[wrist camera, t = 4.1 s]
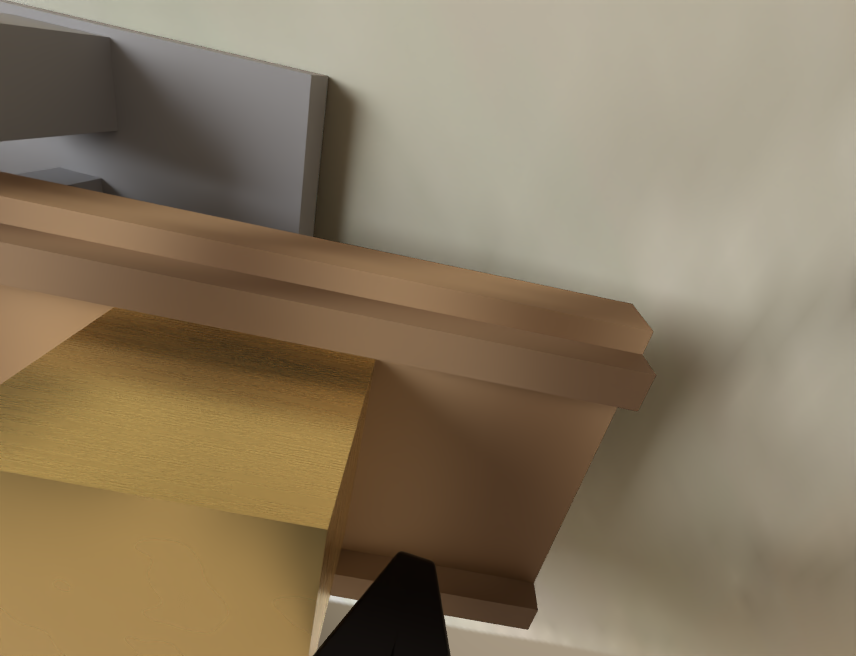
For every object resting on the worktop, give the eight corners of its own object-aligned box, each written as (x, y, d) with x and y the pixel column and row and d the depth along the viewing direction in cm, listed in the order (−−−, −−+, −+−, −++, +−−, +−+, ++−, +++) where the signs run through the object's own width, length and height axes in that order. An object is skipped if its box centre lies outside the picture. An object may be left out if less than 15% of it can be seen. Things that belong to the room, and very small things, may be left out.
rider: (376, 358, 9) (327, 529, 6) (345, 532, 12) (297, 731, 8) (114, 306, 9) (-100, 452, 6) (135, 494, 12) (-8, 682, 8)
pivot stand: (330, 57, 11) (150, 26, 6) (287, 505, 18) (185, 677, 13) (-126, -49, 12) (-632, -157, 7) (-3, 415, 19) (-210, 541, 14)
